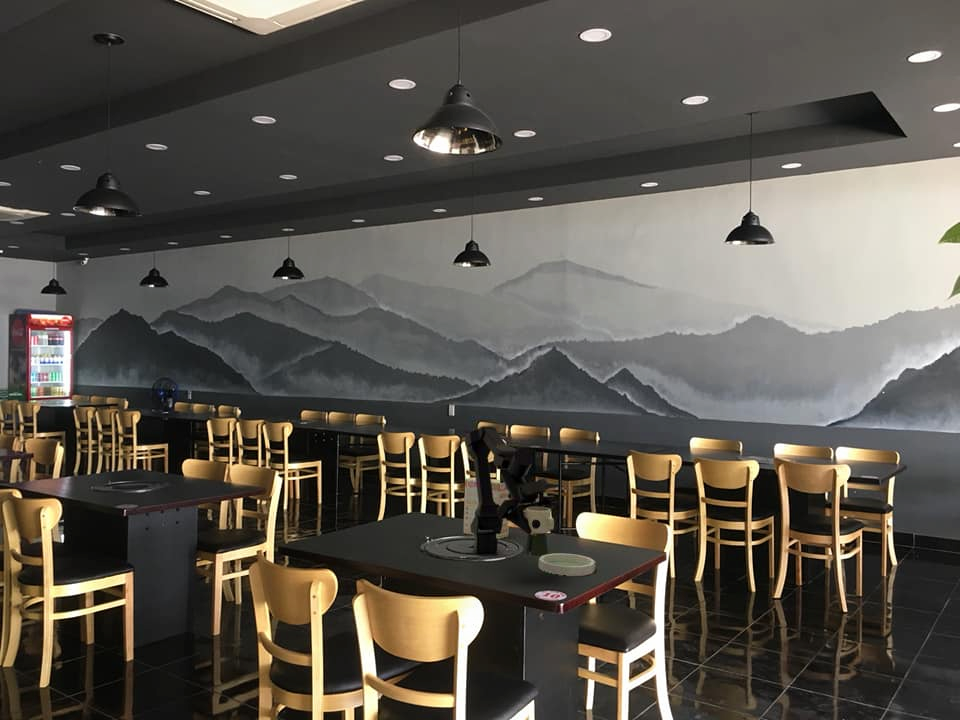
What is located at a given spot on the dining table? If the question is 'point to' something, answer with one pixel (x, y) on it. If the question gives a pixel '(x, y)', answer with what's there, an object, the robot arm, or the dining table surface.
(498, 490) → the coffeecake box
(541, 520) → the character mug
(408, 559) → the dining table surface
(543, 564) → the grey ring base
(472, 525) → the robot arm
